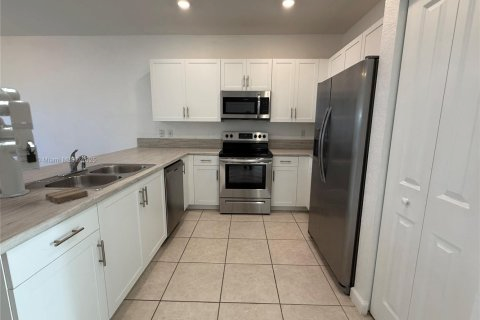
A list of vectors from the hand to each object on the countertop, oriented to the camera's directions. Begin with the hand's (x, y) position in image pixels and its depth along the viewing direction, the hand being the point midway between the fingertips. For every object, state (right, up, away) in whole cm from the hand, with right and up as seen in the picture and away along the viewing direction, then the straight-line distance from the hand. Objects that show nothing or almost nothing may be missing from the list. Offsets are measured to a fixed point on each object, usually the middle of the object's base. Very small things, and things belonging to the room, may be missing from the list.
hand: (28, 161), depth 111 cm
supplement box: (0, -4, +1) cm, 4 cm away
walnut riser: (+11, -20, +11) cm, 26 cm away
